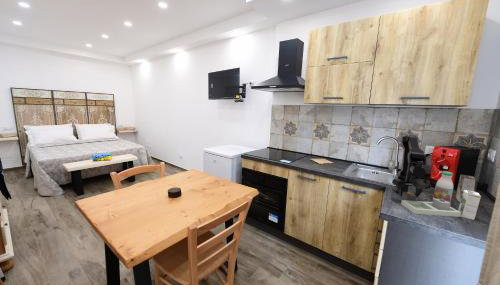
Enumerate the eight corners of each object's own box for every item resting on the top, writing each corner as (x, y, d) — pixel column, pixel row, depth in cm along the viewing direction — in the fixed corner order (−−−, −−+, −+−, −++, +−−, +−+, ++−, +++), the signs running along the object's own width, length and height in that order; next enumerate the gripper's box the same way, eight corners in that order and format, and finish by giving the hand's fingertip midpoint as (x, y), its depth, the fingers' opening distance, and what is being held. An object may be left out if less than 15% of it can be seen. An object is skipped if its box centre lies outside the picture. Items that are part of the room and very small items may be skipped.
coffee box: (472, 204, 125) (479, 180, 122) (458, 201, 128) (464, 177, 125) (468, 199, 132) (474, 176, 129) (454, 197, 136) (460, 174, 133)
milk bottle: (432, 199, 130) (439, 169, 127) (449, 203, 125) (456, 172, 122) (431, 202, 125) (438, 171, 122) (449, 207, 120) (456, 175, 116)
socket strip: (400, 205, 119) (401, 200, 119) (441, 208, 118) (442, 202, 117) (414, 215, 108) (415, 209, 108) (459, 218, 107) (461, 212, 107)
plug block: (400, 200, 126) (402, 190, 125) (408, 201, 126) (410, 191, 124) (406, 204, 121) (408, 194, 120) (414, 205, 121) (416, 194, 119)
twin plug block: (431, 208, 115) (433, 197, 114) (440, 208, 115) (443, 197, 114) (438, 212, 110) (441, 201, 109) (448, 213, 110) (451, 201, 109)
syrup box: (456, 213, 112) (462, 189, 110) (472, 217, 109) (478, 192, 106) (458, 217, 108) (464, 192, 106) (474, 222, 104) (481, 195, 102)
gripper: (406, 175, 112) (401, 201, 115) (441, 177, 112) (435, 204, 114) (393, 169, 123) (389, 193, 126) (425, 171, 122) (420, 195, 125)
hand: (408, 196), depth 123 cm, fingers open, 9 cm apart
